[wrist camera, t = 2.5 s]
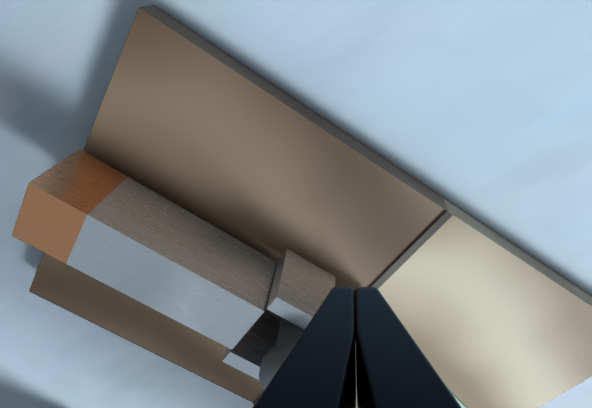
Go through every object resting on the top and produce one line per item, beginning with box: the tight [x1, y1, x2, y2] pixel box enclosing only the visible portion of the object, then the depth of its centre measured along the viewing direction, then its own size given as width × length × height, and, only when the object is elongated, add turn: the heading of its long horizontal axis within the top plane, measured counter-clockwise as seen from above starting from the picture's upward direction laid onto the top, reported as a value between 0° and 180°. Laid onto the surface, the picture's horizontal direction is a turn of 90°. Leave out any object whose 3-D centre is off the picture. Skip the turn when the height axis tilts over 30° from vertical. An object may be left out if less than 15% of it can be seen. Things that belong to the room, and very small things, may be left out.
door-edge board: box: [29, 5, 592, 408], centre depth 18 cm, size 15×24×6 cm, turn 58°
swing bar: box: [12, 149, 356, 380], centre depth 16 cm, size 13×4×3 cm, turn 58°
